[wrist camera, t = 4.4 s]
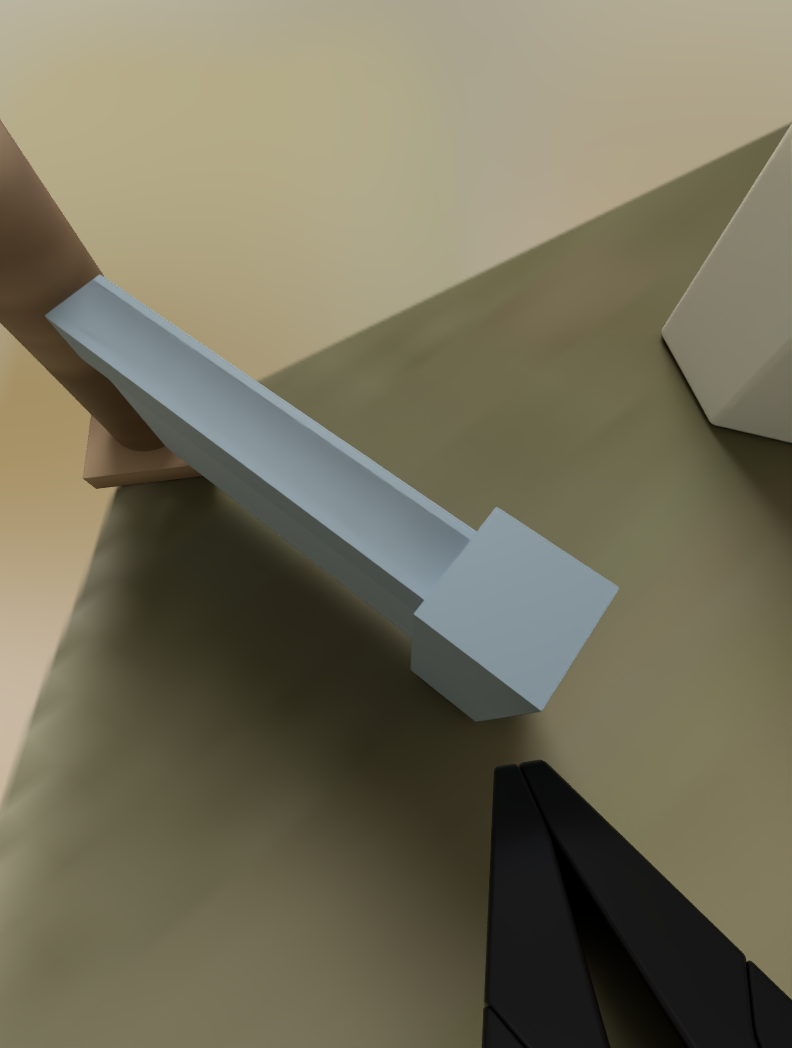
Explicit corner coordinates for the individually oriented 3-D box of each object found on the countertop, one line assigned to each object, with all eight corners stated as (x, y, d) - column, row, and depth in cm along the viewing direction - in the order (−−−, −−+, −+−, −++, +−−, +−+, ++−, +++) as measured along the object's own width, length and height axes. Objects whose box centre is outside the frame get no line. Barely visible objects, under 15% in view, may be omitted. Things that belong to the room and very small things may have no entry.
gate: (170, 478, 18) (13, 309, 11) (218, 432, 19) (100, 245, 12) (475, 721, 15) (541, 711, 8) (520, 655, 15) (619, 587, 8)
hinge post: (218, 474, 18) (26, 210, 9) (96, 488, 18) (-226, 236, 9) (219, 377, 20) (59, 70, 11) (107, 389, 20) (-152, 90, 11)
